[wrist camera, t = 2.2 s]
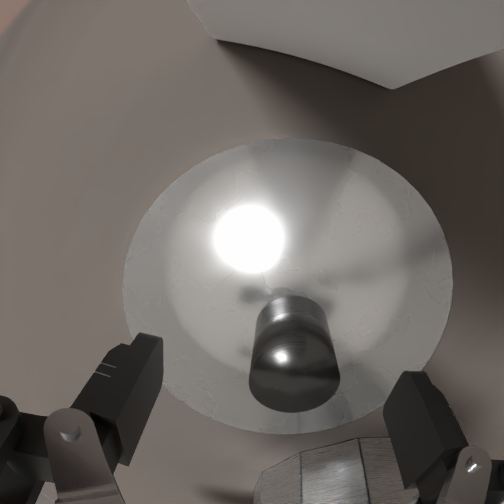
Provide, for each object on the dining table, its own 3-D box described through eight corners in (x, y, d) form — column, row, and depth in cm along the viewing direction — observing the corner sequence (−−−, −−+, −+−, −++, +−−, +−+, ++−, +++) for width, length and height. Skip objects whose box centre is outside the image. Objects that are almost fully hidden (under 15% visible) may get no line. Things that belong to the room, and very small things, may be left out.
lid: (479, 185, 11) (542, 206, 7) (381, 428, 16) (395, 482, 12) (137, 121, 11) (76, 114, 7) (139, 397, 16) (113, 450, 12)
